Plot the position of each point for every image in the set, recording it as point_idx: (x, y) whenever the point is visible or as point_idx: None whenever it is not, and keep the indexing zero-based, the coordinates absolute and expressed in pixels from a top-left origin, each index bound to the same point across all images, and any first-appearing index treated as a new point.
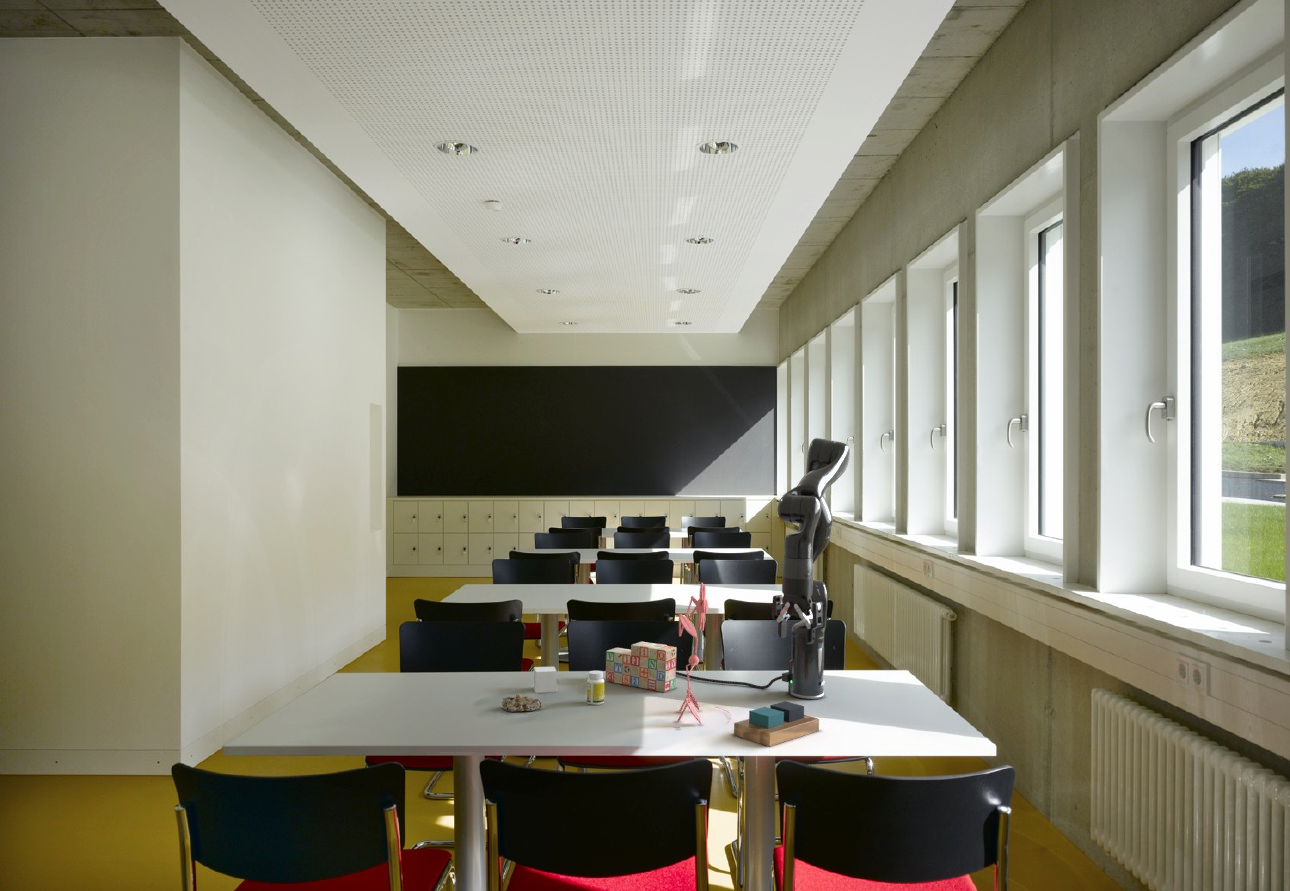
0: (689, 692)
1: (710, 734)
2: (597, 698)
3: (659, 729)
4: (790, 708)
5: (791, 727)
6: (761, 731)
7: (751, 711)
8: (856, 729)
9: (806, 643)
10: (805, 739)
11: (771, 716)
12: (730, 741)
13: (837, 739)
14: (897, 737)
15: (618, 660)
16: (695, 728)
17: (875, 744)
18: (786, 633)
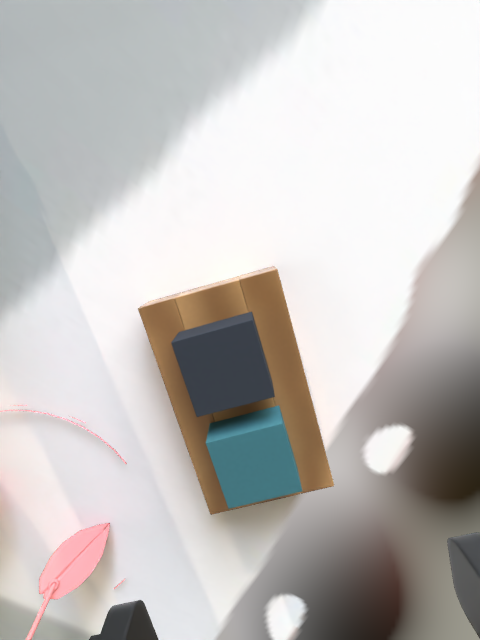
0: (40, 612)
1: (186, 534)
2: None
3: None
4: (257, 380)
5: (311, 400)
6: (305, 492)
7: (236, 506)
8: (312, 140)
9: (460, 598)
10: (320, 350)
11: (298, 476)
12: (252, 521)
13: (361, 267)
14: (439, 65)
15: None
16: (130, 541)
17: (452, 190)
18: (130, 637)
